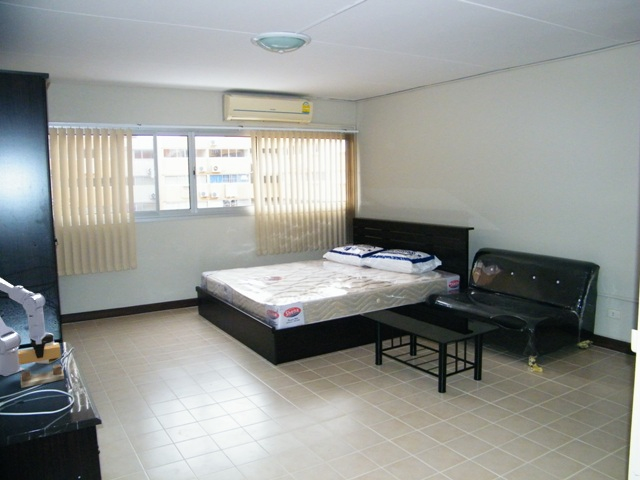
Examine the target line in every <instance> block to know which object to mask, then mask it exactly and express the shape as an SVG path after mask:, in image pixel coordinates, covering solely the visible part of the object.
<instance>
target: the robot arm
mask: <svg viewBox="0 0 640 480" xmlns="http://www.w3.org/2000/svg"><path fill="white" fill-rule="evenodd" d="M0 291H1V292H4V293H6V294H7V295H8V297H9V299H12V301H15V302H17V303H19V304H20V305H22V307H23V309H24V310H25V314H26V315H27V316H26V317H27V323H28V333H29V336H28V338H29V340H30V342H29V343H30V346H31V347H32V349H34V351H35V354H36V357H37V358H43V355H44V347H45V344H46V341H44V340H45V338H46V337H45V336H46V335H49V333H50V332H46V327H45V326H46V325H45V315H44V308H43V307H45V305H46V298H45V297H44V295H42V294H41V293H38V292H37V293H34V292H33V291H30V290H27V289H26V288H24V286H23V285H15V286H14V285H13V284H11V283H9V282H8V281H6V280H4V279H3V278H2V277H0ZM21 344H22V337H21V335H20V334H19V333H18V332H17V331H15V330H14V328H13V327H10V326H7V325H6V323H5V322H4V320H3V318H2V317H1V316H0V375H2V376H3V377H7V376H11V375H13V374H17V373H19V372H23V371H26V370H25V368H24V367H21V365H19V357H18V351H19V348H20V345H21Z"/></svg>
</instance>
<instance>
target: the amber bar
mask: <svg viewBox="0 0 640 480" xmlns="http://www.w3.org/2000/svg"><path fill="white" fill-rule="evenodd" d="M18 357H19V365H20V366H21V365H27V364H32V363H36V362H38V361H43V360H49V359H54V358H59V357H60V358H61V357H62V355H61V347H60V343H59V344H57V345H51V346H45V347H44V355H43V358H37V357H36V354H35V351H34V348H28V349H22V350H18ZM60 358H59V359H60Z"/></svg>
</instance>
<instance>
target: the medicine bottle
mask: <svg viewBox="0 0 640 480" xmlns="http://www.w3.org/2000/svg"><path fill="white" fill-rule="evenodd" d="M48 333H49V335H46V336H45V337H46V338H45V340H44V341H46V344H45V346H51V345H57V344H59V345H60V343H59V342H55V339H54V334H53V333H51V332H48ZM59 359H61V357H59V358H54V359H49V360H43V361H38V362H35V364H42V365H43V364H45V365H47V364H48V365H50V364H52V363H54V362H56V361H57V360H59Z"/></svg>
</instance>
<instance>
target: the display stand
mask: <svg viewBox="0 0 640 480" xmlns="http://www.w3.org/2000/svg"><path fill="white" fill-rule="evenodd" d="M20 372H21V373H20V374H21V377H20V387H21V389H22V388H27V387H33V386H37V385H42V384H47V383H53V382H56V381H57V382H58V381H61V380H65V374H64V369H63V367H62V364H61V363H59V364H53V365H52V370H50V371H44V372H40V373H39V372H38V373H35V374H31V369H30V370H23V371H20Z"/></svg>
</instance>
